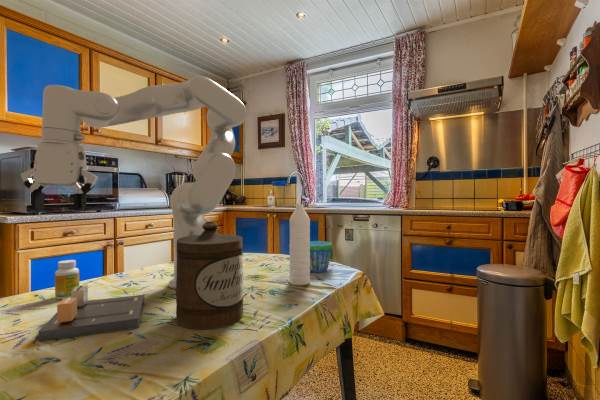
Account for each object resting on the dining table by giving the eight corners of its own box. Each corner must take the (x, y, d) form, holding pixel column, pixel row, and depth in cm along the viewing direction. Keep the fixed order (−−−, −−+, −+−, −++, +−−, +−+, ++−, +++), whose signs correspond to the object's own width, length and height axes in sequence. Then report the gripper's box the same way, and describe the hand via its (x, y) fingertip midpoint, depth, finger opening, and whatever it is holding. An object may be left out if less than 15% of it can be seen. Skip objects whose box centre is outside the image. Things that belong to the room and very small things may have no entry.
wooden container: (211, 335, 64) (210, 225, 63) (161, 321, 71) (160, 222, 71) (256, 311, 77) (255, 220, 76) (210, 301, 84) (210, 217, 84)
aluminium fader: (87, 300, 78) (87, 284, 78) (83, 305, 74) (83, 289, 74) (76, 301, 77) (75, 285, 77) (71, 306, 73) (71, 290, 73)
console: (144, 302, 83) (144, 294, 83) (138, 327, 67) (137, 318, 67) (66, 311, 77) (65, 302, 77) (38, 341, 61) (38, 331, 61)
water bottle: (285, 284, 100) (285, 204, 99) (294, 279, 106) (294, 203, 105) (311, 287, 96) (312, 204, 96) (319, 282, 102) (319, 203, 101)
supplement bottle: (66, 300, 85) (66, 263, 84) (50, 299, 86) (49, 263, 86) (84, 294, 90) (83, 259, 90) (68, 292, 91) (67, 258, 91)
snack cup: (309, 277, 108) (309, 247, 108) (291, 271, 116) (291, 243, 116) (342, 270, 118) (342, 242, 117) (323, 265, 126) (323, 239, 126)
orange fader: (77, 313, 69) (76, 296, 69) (71, 320, 65) (71, 302, 65) (63, 315, 68) (63, 298, 68) (57, 322, 64) (57, 304, 64)
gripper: (106, 143, 82) (104, 210, 81) (36, 140, 81) (33, 208, 81) (88, 137, 74) (85, 211, 74) (10, 134, 73) (7, 208, 73)
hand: (58, 209), depth 77 cm, fingers open, 9 cm apart
